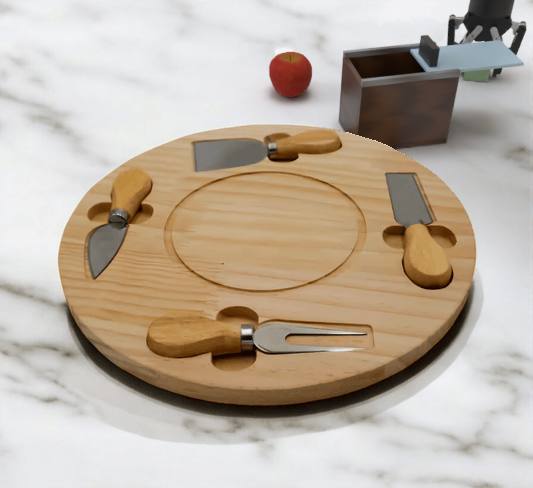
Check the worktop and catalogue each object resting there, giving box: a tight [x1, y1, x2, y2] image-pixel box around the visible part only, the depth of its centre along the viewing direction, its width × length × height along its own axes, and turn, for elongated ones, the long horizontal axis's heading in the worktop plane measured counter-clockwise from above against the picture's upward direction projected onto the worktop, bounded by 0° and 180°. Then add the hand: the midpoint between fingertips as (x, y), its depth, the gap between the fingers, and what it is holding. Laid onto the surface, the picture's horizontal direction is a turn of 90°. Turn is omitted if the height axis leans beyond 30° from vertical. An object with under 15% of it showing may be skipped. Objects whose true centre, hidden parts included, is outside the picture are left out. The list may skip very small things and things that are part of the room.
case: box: [338, 41, 462, 150], centre depth 107 cm, size 16×11×13 cm
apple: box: [268, 51, 313, 98], centre depth 119 cm, size 8×8×8 cm
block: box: [463, 69, 491, 83], centre depth 124 cm, size 4×4×4 cm
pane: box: [410, 34, 524, 73], centre depth 103 cm, size 16×8×4 cm, turn 101°
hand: (476, 72), depth 125 cm, fingers open, 6 cm apart
